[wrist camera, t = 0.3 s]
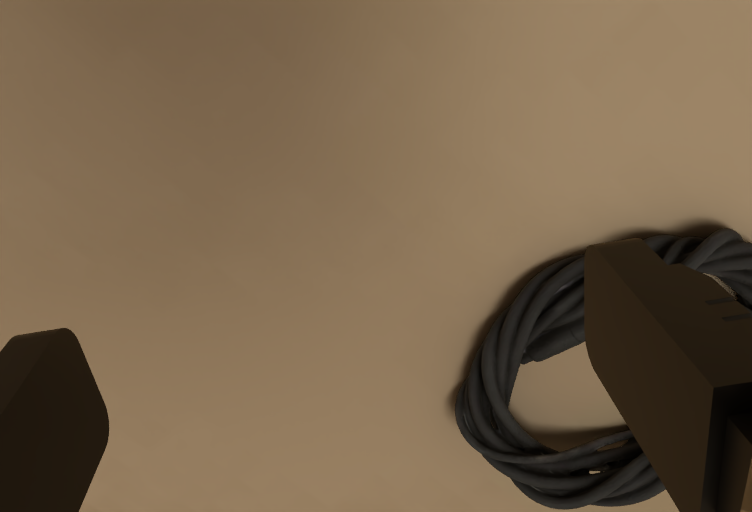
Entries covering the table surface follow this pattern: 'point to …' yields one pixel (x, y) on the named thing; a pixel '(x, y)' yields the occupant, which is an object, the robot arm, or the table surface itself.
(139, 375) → the table surface
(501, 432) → the cable
